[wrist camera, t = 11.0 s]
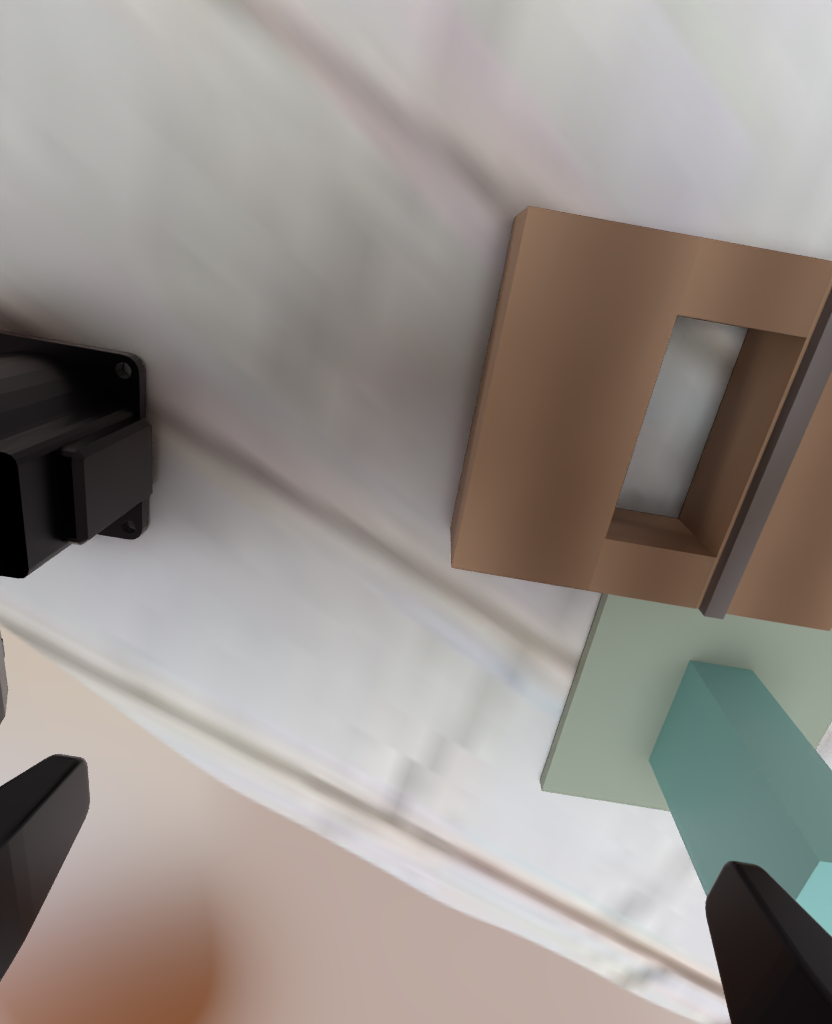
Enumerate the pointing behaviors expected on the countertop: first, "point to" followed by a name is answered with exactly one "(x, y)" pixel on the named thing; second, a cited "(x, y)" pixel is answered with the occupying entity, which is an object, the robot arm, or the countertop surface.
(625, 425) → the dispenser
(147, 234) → the countertop surface
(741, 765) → the tall teal box
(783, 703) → the mat
